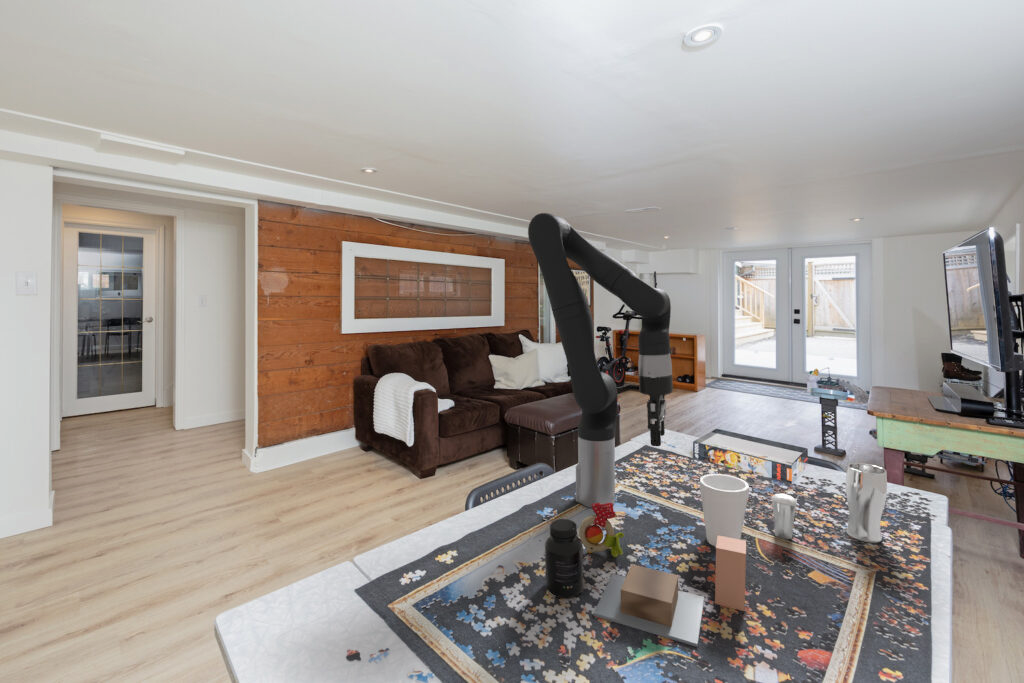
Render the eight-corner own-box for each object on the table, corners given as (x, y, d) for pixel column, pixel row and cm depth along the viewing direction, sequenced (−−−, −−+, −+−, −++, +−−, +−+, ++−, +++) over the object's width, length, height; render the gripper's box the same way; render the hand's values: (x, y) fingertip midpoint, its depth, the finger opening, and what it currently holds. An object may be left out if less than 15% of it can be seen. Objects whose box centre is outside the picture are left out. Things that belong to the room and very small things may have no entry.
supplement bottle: (542, 577, 86) (541, 516, 85) (578, 574, 87) (577, 514, 86) (548, 601, 80) (547, 535, 79) (587, 598, 80) (586, 532, 79)
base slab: (620, 612, 76) (620, 589, 75) (631, 585, 83) (631, 564, 82) (671, 627, 72) (671, 603, 72) (678, 597, 79) (678, 575, 79)
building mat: (593, 615, 76) (593, 612, 76) (612, 576, 86) (612, 573, 86) (697, 647, 68) (697, 643, 68) (704, 599, 79) (704, 596, 79)
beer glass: (878, 531, 100) (882, 464, 99) (889, 546, 94) (892, 476, 93) (840, 525, 103) (843, 460, 102) (847, 540, 97) (850, 471, 96)
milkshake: (803, 542, 97) (804, 496, 96) (775, 540, 98) (776, 495, 97) (794, 531, 101) (796, 487, 100) (768, 529, 102) (769, 486, 101)
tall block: (715, 603, 78) (716, 547, 77) (716, 588, 82) (717, 535, 81) (744, 611, 76) (746, 553, 75) (744, 595, 80) (746, 540, 79)
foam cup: (711, 526, 104) (712, 470, 103) (754, 541, 97) (756, 482, 96) (691, 541, 98) (691, 482, 97) (735, 558, 91) (736, 496, 90)
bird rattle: (592, 571, 92) (634, 554, 91) (569, 522, 91) (612, 504, 90) (589, 554, 98) (628, 538, 97) (567, 508, 97) (607, 491, 96)
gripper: (643, 368, 116) (645, 431, 117) (634, 377, 103) (637, 448, 104) (674, 368, 113) (676, 432, 114) (669, 378, 100) (672, 450, 101)
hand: (658, 440), depth 109 cm, fingers open, 8 cm apart
